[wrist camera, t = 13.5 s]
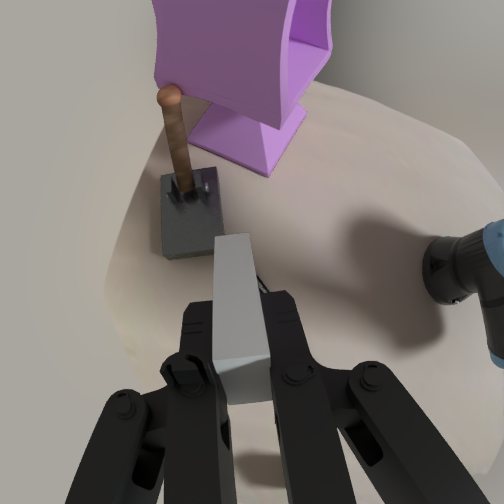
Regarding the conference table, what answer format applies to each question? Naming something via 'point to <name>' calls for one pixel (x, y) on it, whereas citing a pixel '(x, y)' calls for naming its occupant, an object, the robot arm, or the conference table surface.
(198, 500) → the robot arm
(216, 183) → the press base
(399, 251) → the conference table surface
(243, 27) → the purple pedestal vase
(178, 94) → the lever
